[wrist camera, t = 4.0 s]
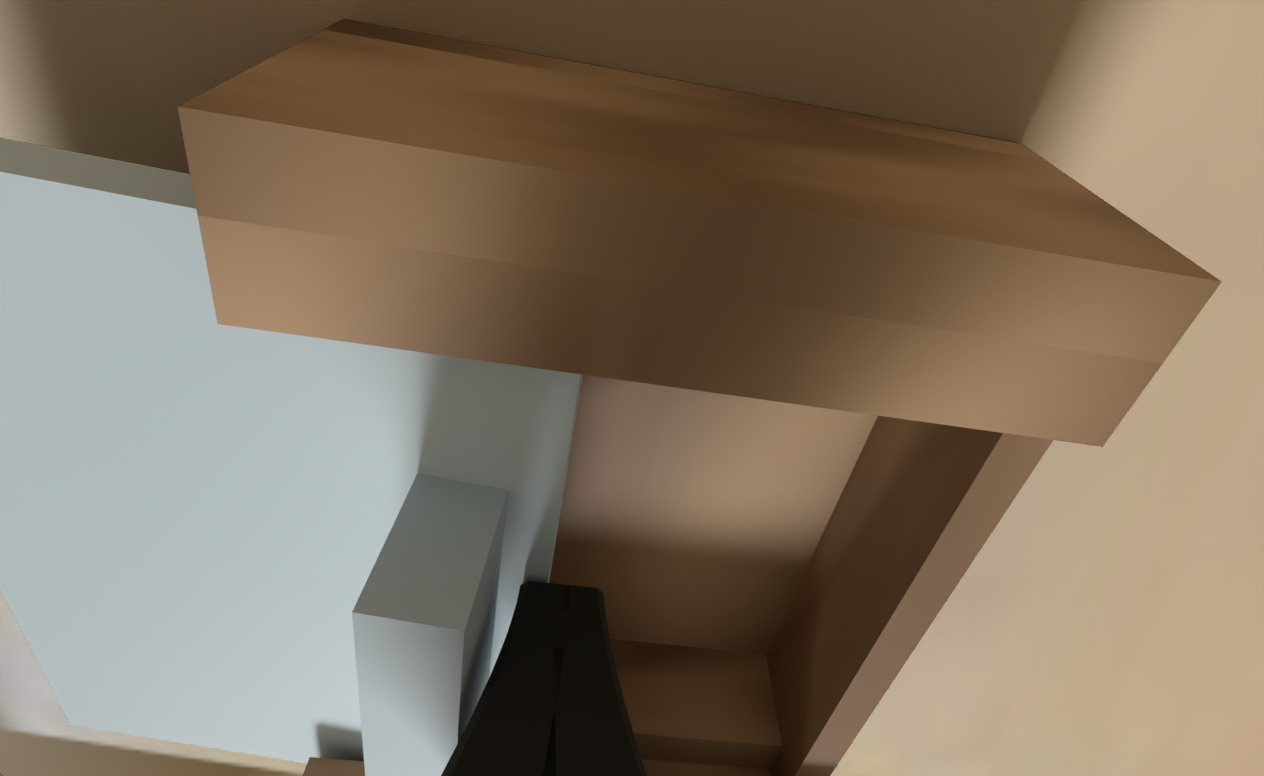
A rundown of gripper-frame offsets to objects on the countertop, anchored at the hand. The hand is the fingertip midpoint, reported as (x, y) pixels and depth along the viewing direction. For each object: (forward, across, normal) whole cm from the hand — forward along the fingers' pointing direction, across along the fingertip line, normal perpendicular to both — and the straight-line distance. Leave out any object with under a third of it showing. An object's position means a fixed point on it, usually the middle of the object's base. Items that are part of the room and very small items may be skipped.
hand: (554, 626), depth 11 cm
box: (+4, -1, 0) cm, 4 cm away
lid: (+1, +4, 0) cm, 5 cm away
